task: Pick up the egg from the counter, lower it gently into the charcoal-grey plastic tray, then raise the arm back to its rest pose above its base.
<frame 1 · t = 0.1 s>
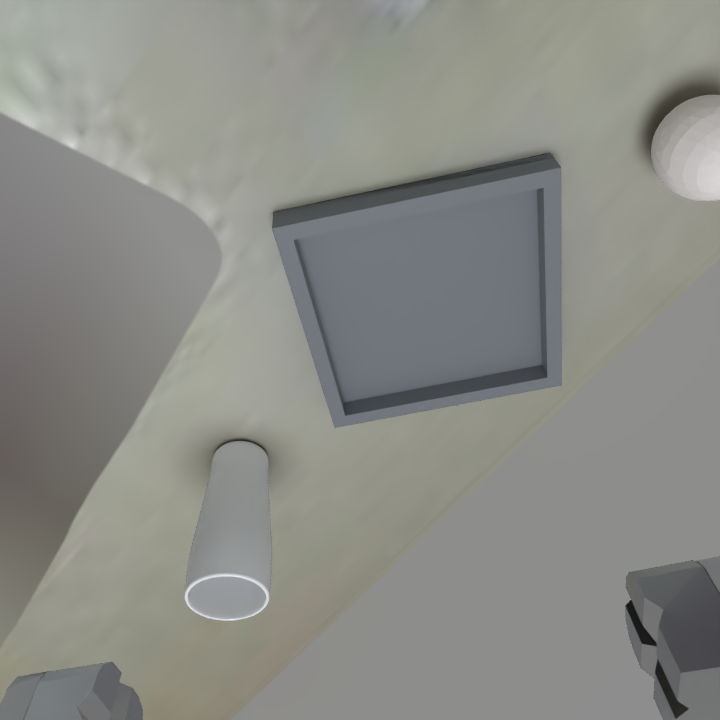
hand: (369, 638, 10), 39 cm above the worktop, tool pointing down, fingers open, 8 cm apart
egg: (679, 127, 46), on the worktop
drinking glass: (241, 455, 64), on the worktop
tray: (427, 297, 53), on the worktop
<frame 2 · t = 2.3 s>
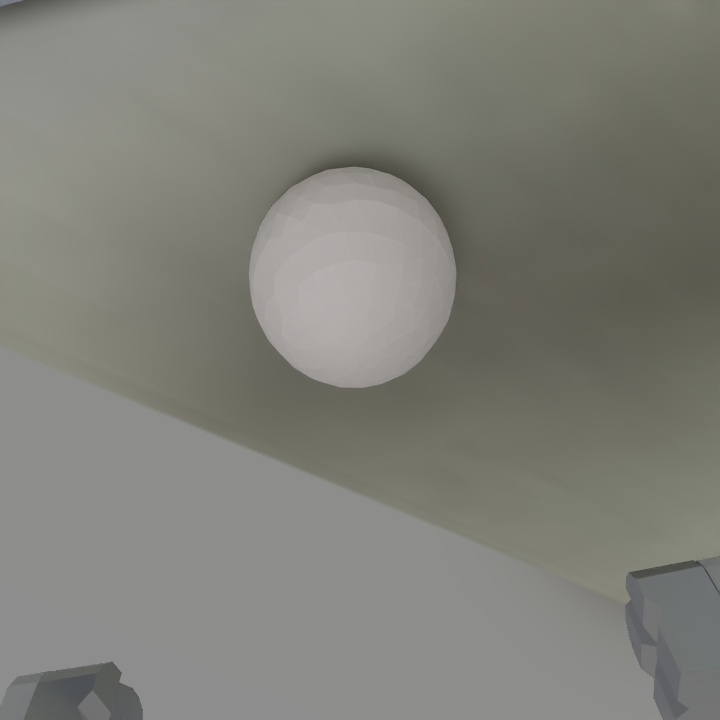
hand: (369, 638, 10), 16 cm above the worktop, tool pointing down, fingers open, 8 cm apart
egg: (350, 226, 24), on the worktop
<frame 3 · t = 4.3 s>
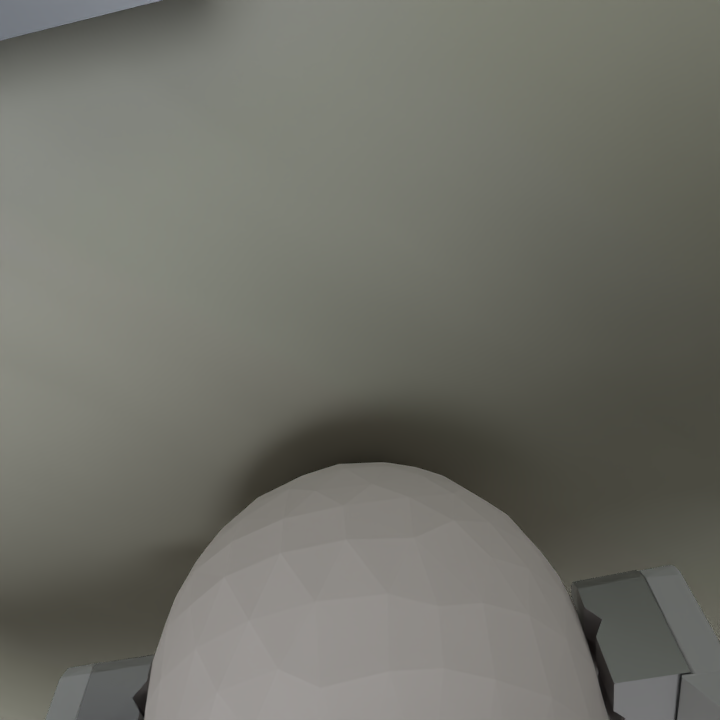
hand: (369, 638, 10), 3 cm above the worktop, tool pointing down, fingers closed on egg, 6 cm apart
egg: (360, 502, 13), on the worktop, touching gripper
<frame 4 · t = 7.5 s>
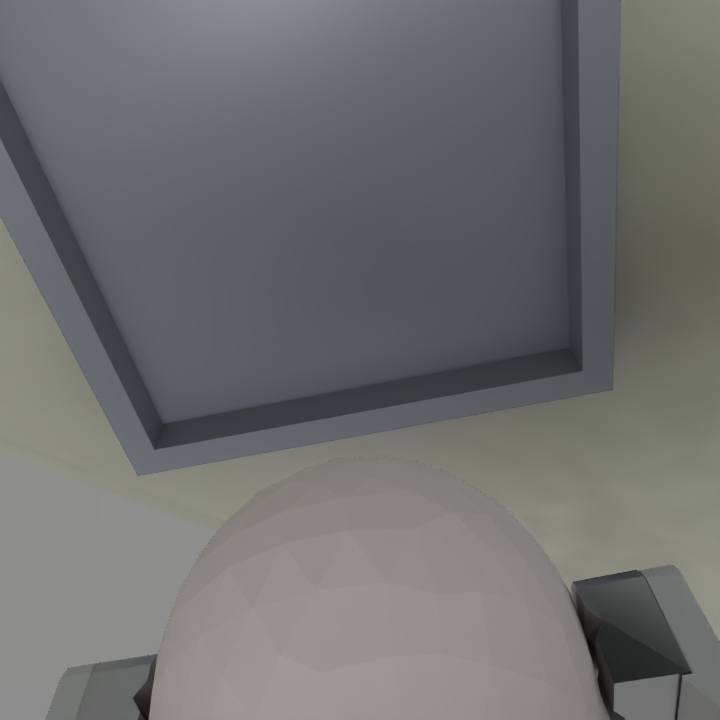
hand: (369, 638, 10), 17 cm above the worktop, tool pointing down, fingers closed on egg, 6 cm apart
egg: (361, 497, 13), point 14 cm above the worktop, touching gripper
tray: (313, 181, 24), on the worktop
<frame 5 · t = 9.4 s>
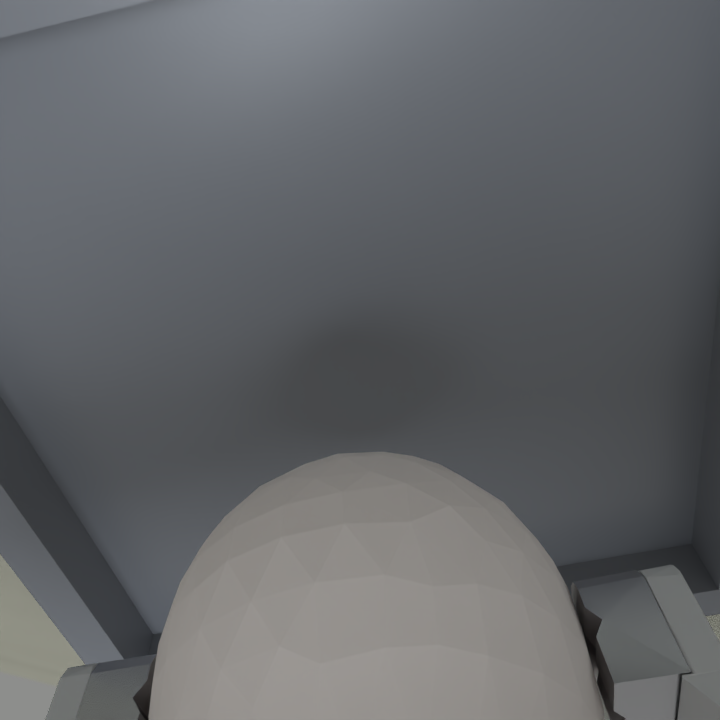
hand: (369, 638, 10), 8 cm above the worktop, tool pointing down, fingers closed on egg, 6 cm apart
egg: (360, 493, 13), point 5 cm above the worktop, touching gripper
tray: (356, 353, 17), on the worktop
when the fingers open (5 cm above the worktop, at t = 10.9 s): egg drops 1 cm, resting on tray.
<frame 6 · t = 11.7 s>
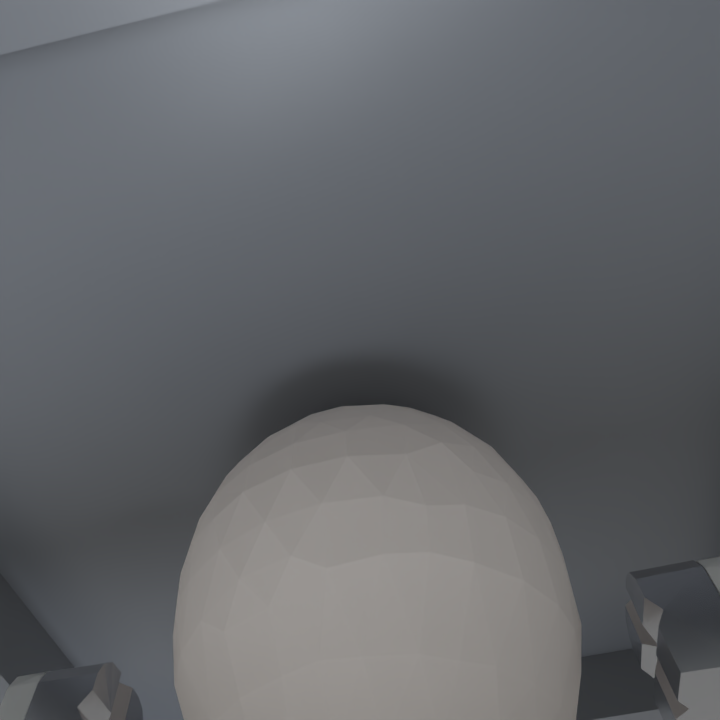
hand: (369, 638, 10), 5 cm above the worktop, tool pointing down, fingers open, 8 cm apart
egg: (362, 450, 14), point 1 cm above the worktop, touching tray
tray: (353, 432, 15), on the worktop
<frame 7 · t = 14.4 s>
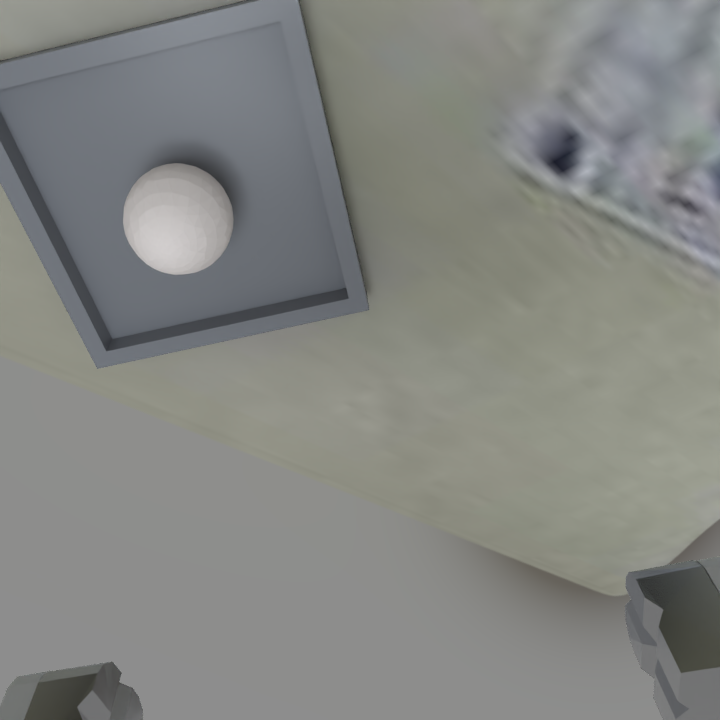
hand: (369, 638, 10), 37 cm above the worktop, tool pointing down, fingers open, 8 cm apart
egg: (189, 197, 43), point 1 cm above the worktop, touching tray
tray: (188, 194, 44), on the worktop
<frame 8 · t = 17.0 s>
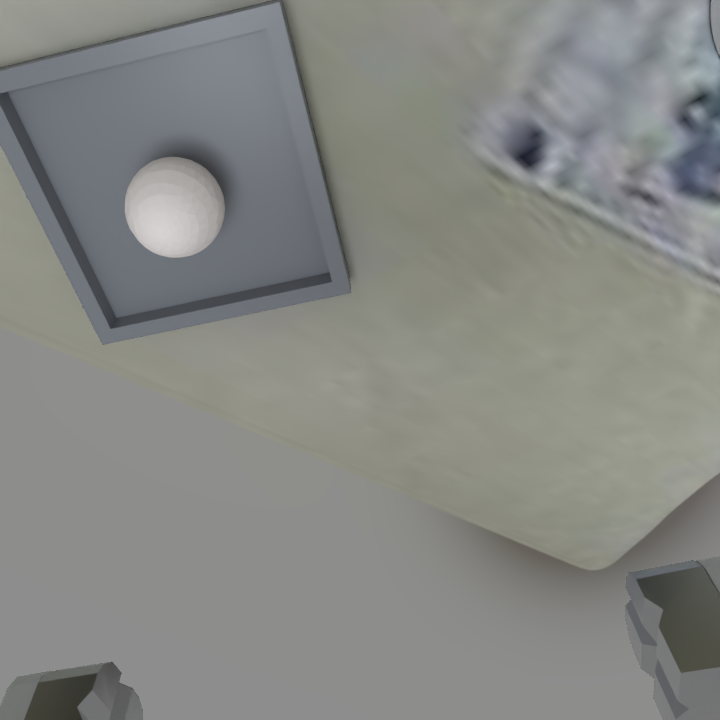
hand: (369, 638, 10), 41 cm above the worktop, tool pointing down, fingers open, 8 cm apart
egg: (186, 188, 47), point 1 cm above the worktop, touching tray
tray: (185, 184, 48), on the worktop
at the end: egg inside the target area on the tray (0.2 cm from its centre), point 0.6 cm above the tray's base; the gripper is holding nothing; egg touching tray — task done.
